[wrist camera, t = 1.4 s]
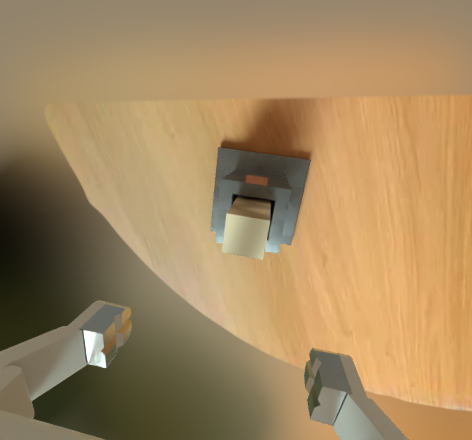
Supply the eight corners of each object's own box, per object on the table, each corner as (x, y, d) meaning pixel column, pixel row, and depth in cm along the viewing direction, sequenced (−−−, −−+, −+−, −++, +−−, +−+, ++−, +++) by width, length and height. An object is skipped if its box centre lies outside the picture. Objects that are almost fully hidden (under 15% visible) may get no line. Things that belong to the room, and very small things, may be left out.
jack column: (271, 188, 35) (270, 220, 20) (266, 212, 36) (263, 260, 21) (245, 184, 35) (225, 212, 20) (242, 208, 36) (221, 252, 21)
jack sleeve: (309, 159, 34) (326, 165, 23) (290, 241, 38) (297, 278, 28) (220, 147, 35) (197, 147, 24) (212, 227, 40) (190, 258, 29)
